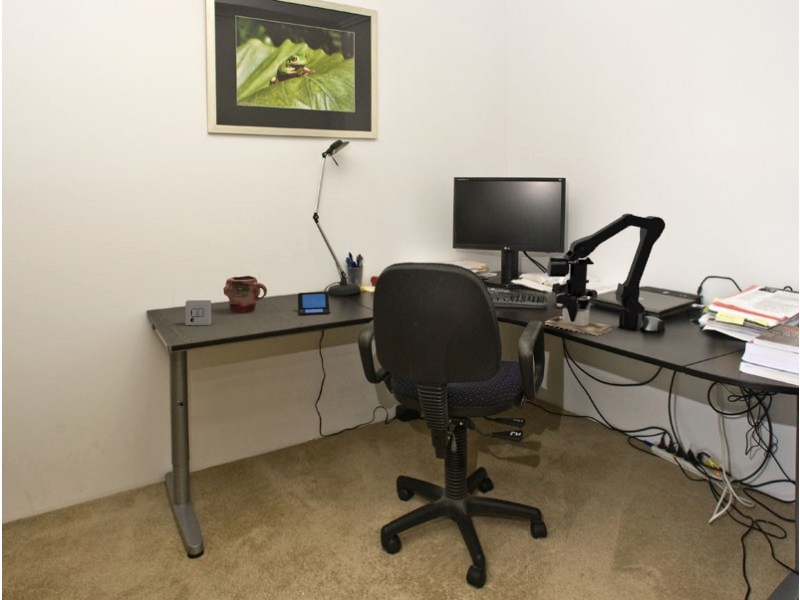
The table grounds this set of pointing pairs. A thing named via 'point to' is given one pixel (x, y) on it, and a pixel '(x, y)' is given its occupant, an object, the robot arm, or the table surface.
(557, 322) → the board
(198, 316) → the electrical switch
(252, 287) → the reddish brown mug
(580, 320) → the white rectangular block
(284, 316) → the table surface
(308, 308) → the handheld game console
